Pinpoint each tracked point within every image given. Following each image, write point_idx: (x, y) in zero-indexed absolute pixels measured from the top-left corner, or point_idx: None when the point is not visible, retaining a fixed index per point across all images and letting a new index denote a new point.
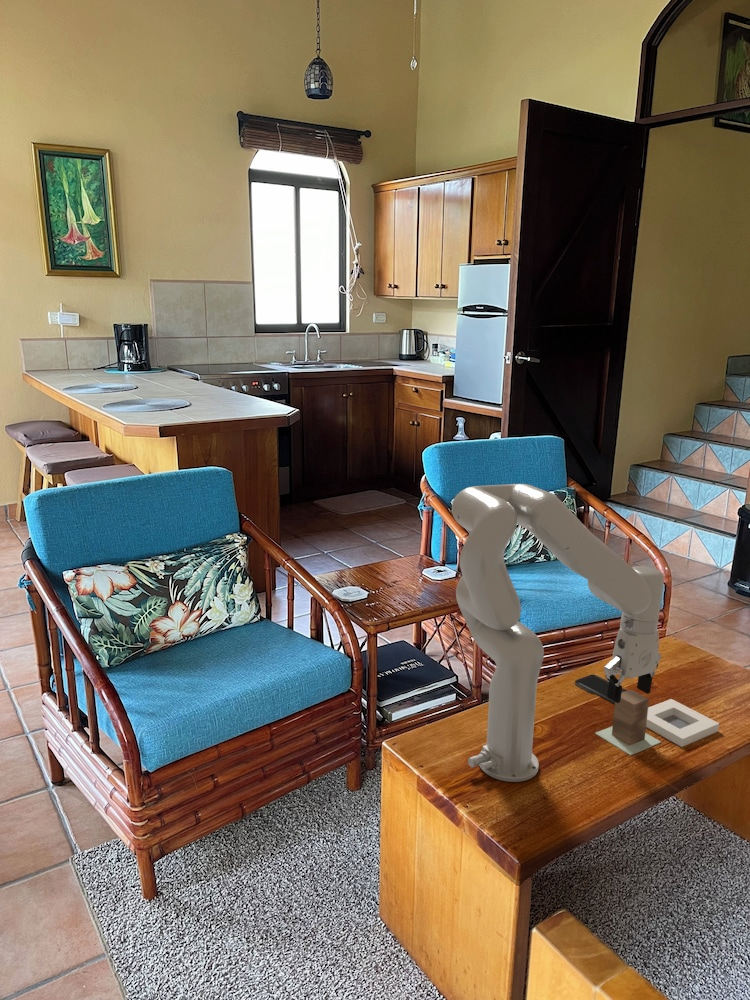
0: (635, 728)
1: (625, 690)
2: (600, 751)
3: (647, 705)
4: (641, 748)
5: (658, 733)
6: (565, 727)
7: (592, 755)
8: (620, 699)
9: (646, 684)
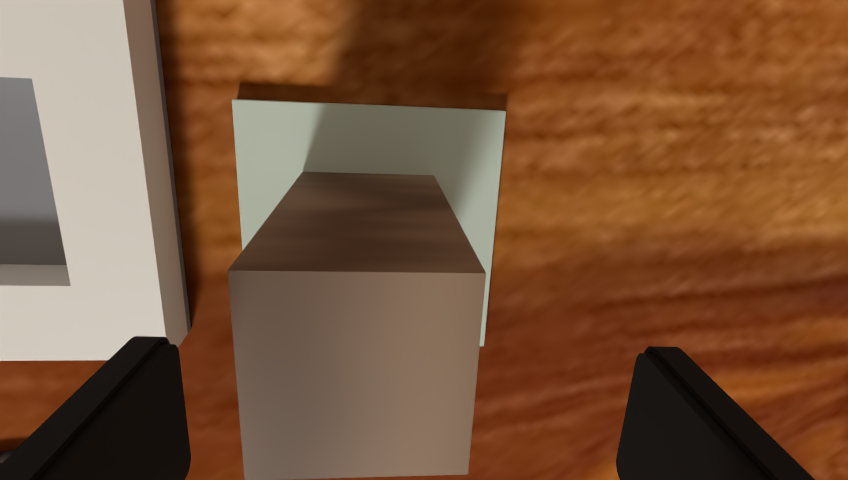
0: (401, 197)
1: None
2: (582, 229)
3: (262, 244)
4: (400, 117)
5: (168, 170)
6: (540, 442)
7: (643, 226)
8: (671, 362)
9: (127, 437)
